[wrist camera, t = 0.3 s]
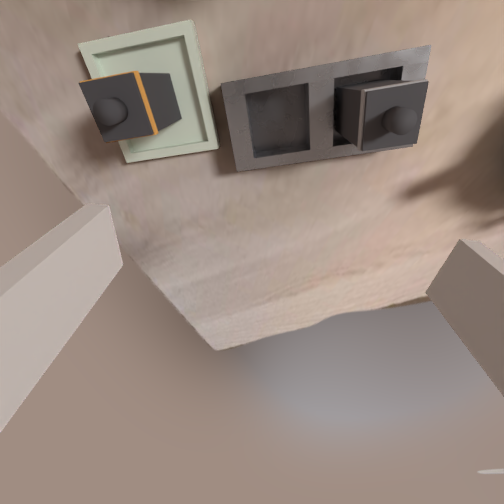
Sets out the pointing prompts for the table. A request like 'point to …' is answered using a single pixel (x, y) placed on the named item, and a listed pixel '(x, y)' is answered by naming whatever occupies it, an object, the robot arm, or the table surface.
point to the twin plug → (380, 113)
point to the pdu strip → (305, 108)
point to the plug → (131, 104)
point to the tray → (183, 79)
